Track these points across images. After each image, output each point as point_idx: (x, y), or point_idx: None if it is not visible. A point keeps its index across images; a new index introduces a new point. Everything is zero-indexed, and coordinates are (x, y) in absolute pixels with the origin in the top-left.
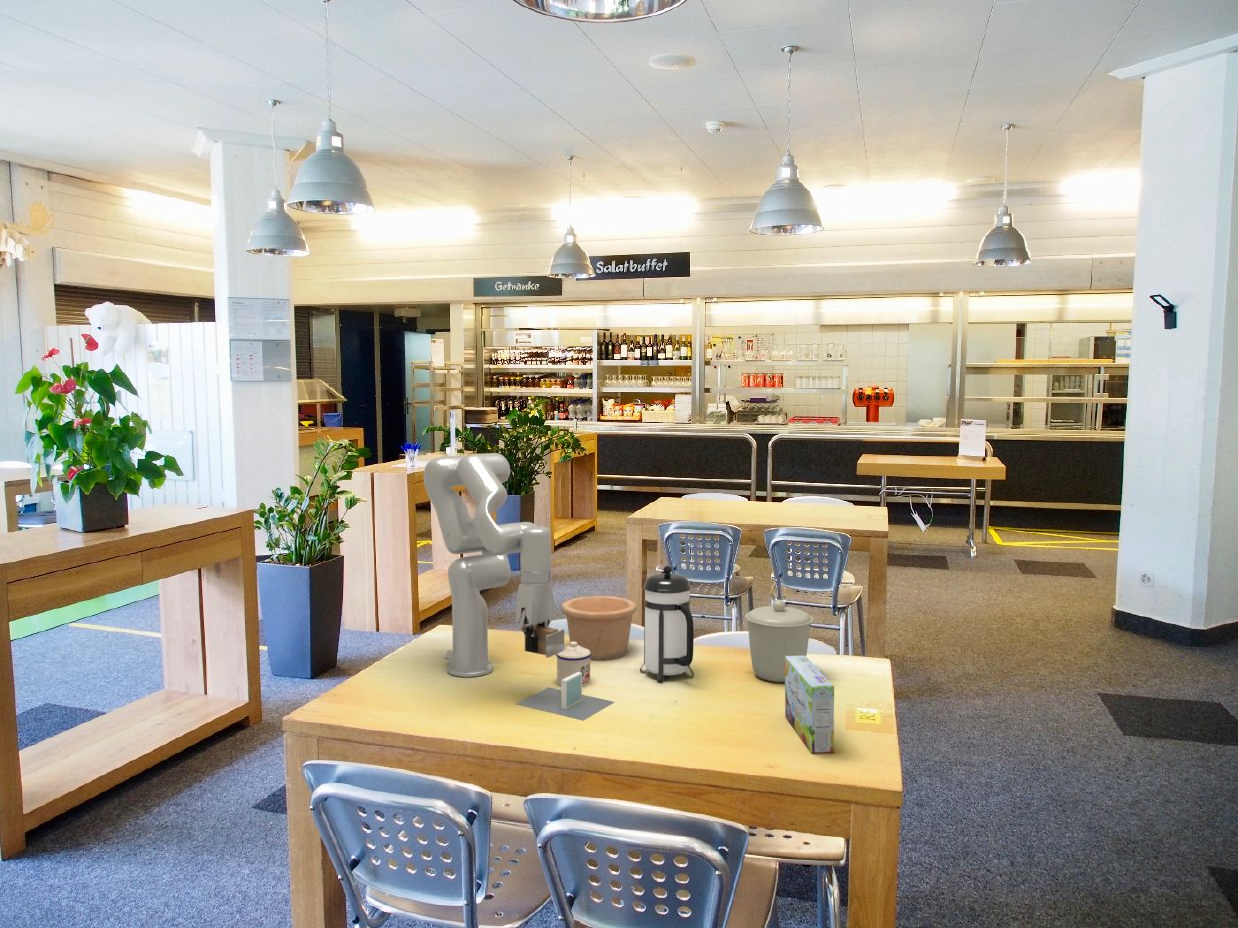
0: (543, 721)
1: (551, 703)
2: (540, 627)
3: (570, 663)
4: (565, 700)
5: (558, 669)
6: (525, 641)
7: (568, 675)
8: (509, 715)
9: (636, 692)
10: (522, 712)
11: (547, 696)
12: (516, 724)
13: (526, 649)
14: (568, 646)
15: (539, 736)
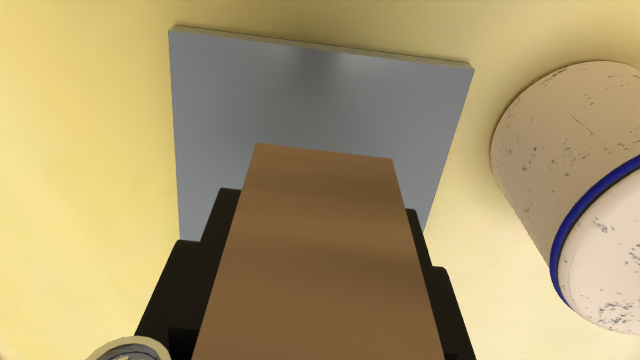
0: (128, 208)
1: None
2: None
3: (544, 248)
4: None
5: (564, 136)
6: (236, 220)
7: (516, 193)
8: (82, 54)
9: (533, 346)
10: (151, 90)
11: (341, 128)
12: (30, 135)
13: (219, 196)
14: None
15: (15, 252)
